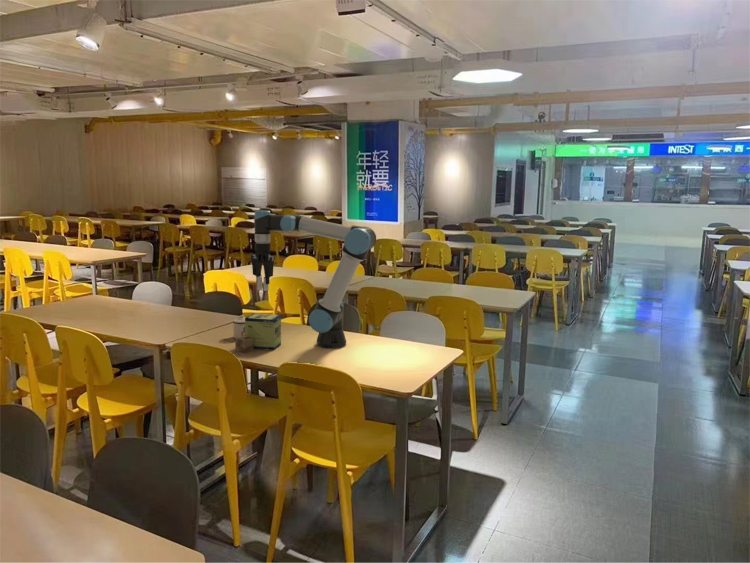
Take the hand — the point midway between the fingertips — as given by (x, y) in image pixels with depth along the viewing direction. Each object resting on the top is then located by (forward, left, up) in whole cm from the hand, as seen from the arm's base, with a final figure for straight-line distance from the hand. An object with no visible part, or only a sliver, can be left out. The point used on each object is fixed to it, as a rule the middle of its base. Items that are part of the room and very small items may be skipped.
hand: (262, 290), depth 279 cm
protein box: (0, 0, -29) cm, 29 cm away
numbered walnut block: (+3, +10, -29) cm, 31 cm away
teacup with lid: (+21, -9, -29) cm, 37 cm away
